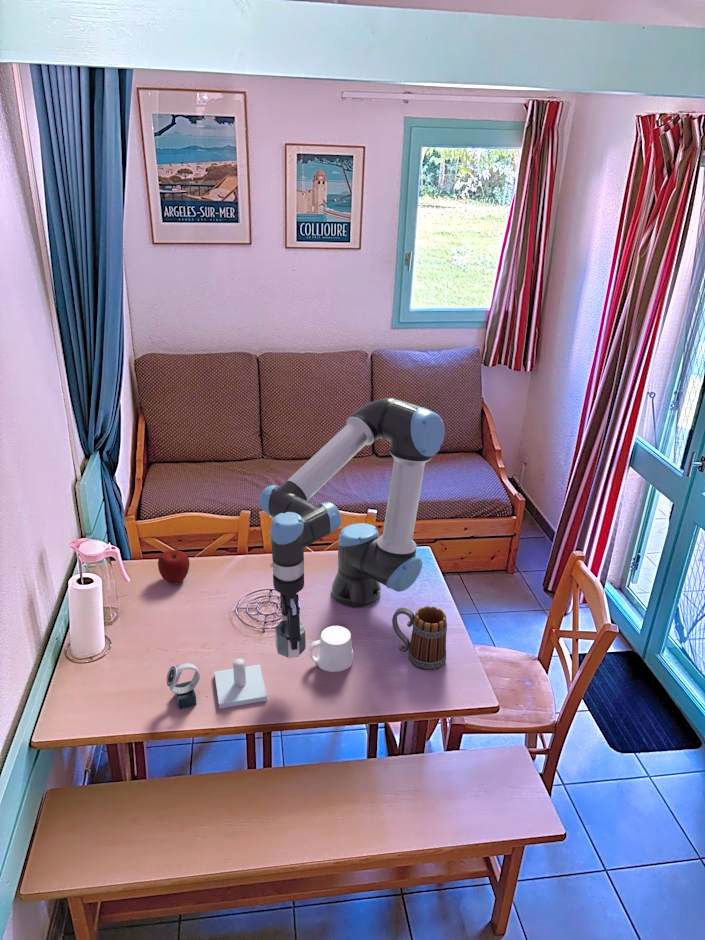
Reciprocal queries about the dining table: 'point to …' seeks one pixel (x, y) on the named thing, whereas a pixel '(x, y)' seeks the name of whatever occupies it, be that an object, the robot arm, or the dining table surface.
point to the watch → (183, 684)
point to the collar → (282, 643)
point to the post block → (240, 685)
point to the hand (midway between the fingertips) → (290, 646)
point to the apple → (173, 566)
